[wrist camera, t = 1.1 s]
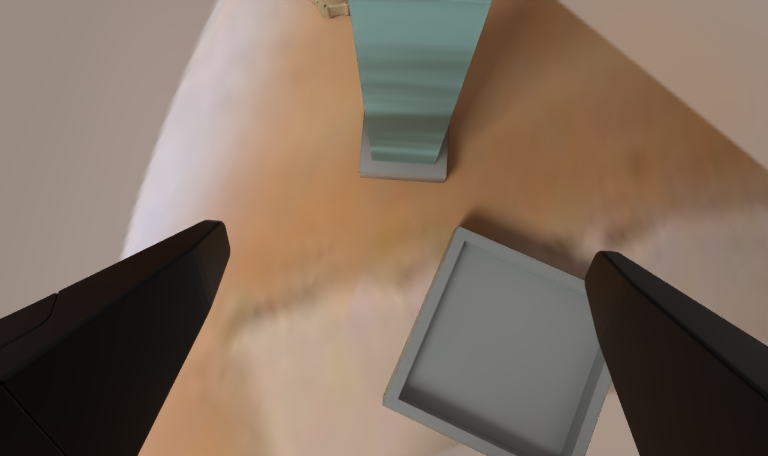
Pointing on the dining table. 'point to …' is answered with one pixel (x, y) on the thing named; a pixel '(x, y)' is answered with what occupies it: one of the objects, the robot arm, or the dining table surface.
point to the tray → (502, 355)
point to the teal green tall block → (412, 81)
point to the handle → (332, 7)
